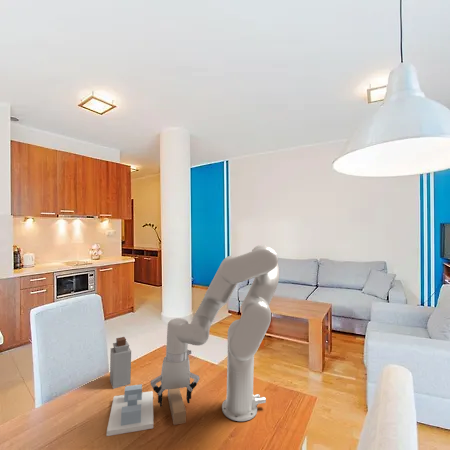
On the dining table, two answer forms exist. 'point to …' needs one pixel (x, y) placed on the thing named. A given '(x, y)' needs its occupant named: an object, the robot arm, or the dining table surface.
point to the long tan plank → (176, 406)
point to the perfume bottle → (120, 363)
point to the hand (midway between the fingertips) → (174, 402)
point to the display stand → (131, 411)
